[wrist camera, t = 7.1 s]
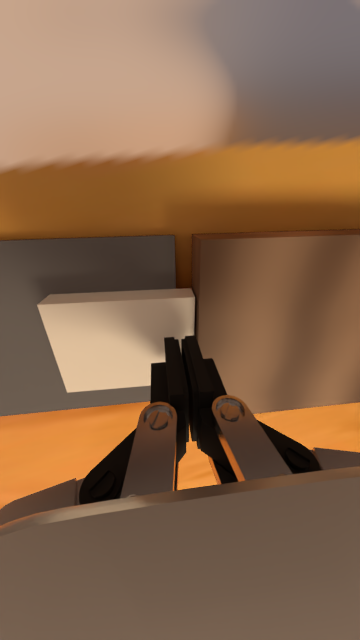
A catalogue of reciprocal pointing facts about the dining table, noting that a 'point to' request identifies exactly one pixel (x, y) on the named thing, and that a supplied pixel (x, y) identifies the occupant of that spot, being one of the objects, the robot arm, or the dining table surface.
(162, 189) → the dining table surface
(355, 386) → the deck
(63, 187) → the dining table surface
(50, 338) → the tile
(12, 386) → the mat
